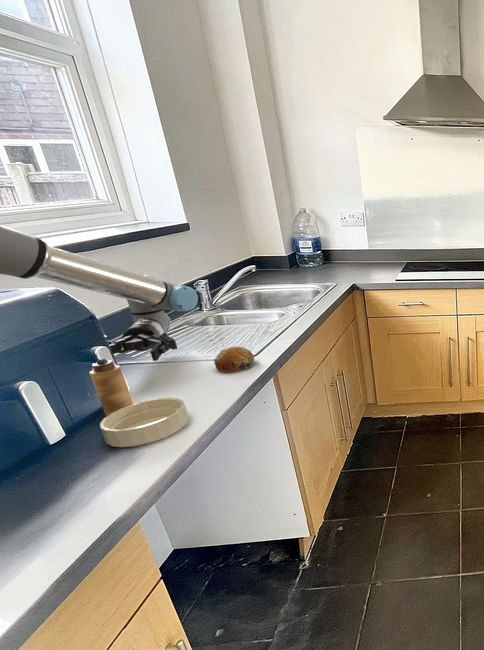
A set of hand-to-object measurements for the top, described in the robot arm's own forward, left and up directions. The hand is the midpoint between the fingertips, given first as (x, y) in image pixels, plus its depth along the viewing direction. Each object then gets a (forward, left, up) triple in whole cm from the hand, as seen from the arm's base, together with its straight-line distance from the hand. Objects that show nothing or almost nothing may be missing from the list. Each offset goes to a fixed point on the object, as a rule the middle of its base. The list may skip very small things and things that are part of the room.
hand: (119, 361), depth 103 cm
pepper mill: (0, -9, -11) cm, 14 cm away
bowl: (+8, -21, -11) cm, 25 cm away
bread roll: (+22, +11, -11) cm, 27 cm away
